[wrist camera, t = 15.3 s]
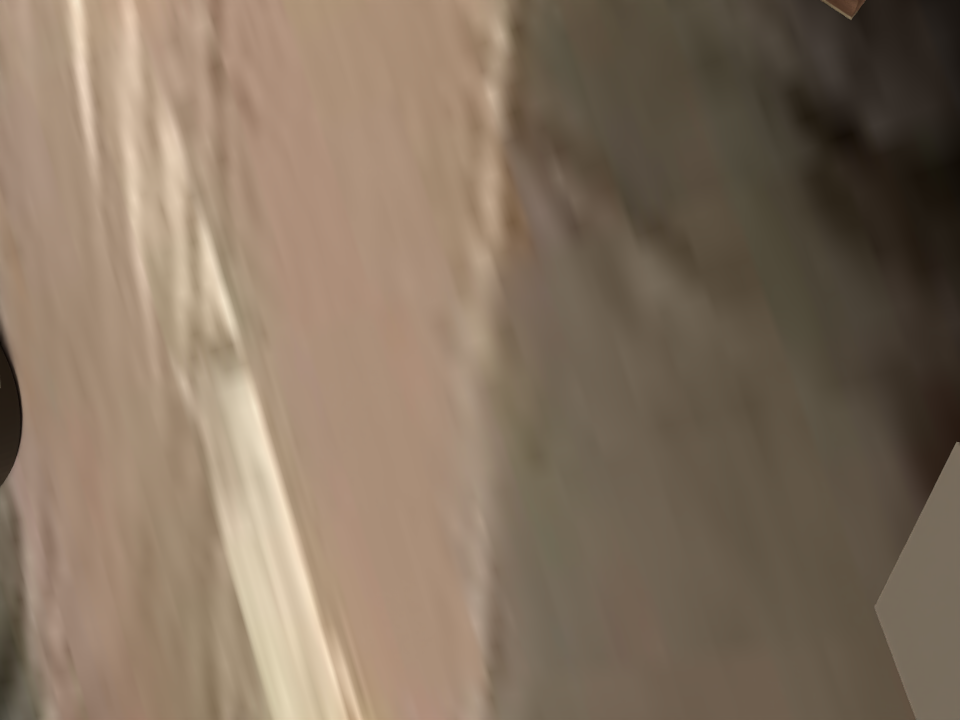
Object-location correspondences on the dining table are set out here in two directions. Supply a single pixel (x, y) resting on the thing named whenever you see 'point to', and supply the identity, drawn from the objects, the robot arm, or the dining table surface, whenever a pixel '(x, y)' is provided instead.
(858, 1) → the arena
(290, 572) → the dining table surface
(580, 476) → the dining table surface
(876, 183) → the dining table surface
